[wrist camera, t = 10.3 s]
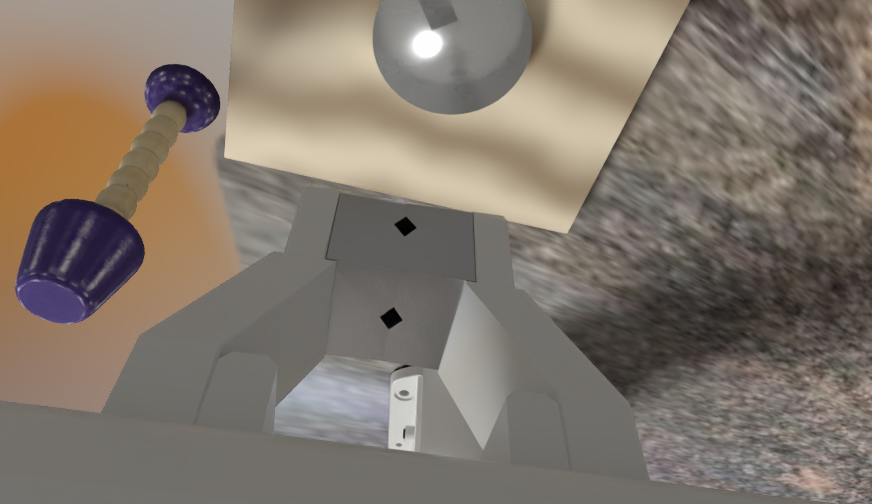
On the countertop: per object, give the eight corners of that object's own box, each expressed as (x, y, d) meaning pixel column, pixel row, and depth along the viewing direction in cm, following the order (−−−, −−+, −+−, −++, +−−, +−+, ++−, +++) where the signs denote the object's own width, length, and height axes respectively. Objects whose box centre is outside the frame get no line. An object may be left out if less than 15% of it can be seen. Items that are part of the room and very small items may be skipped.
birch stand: (562, 214, 44) (567, 234, 42) (232, 139, 40) (223, 158, 39) (747, -148, 30) (764, -139, 28) (265, -314, 26) (254, -313, 25)
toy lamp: (214, 143, 41) (110, 350, 28) (136, 119, 40) (-7, 324, 27) (225, 77, 38) (115, 276, 25) (142, 49, 37) (-17, 242, 24)
